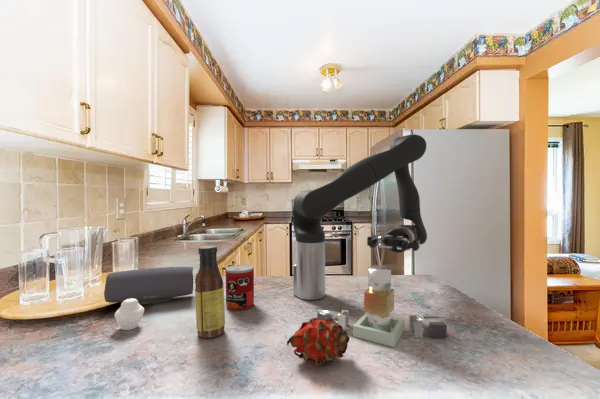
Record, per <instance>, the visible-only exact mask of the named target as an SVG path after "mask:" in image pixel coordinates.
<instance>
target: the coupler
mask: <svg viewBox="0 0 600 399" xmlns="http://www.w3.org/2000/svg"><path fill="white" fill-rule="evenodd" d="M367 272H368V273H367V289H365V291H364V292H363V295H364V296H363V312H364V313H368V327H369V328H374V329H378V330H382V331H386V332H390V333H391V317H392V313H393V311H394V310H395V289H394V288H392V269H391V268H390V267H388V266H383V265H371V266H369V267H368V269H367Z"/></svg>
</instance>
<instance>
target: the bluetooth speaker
mask: <svg viewBox="0 0 600 399" xmlns="http://www.w3.org/2000/svg"><path fill="white" fill-rule="evenodd" d="M193 271H194V266H169V267H168V266H166V267H165V266H164V267H150V268H142V269H140V268H138V269H130V270H120V271H113V272H110V273H109V272H108V273H107V275H106V278H105V284H104V290H103V296H104V302H106V303H107V302H109V304H110V303H111V304H115V303H116V304H117V303H120V304H121V303H122V302H123V301H124V300H127V299H129V298H130V299H131V298H134V299H137V300H138V303H139V304H140V305H147V304H156V303H157V304H159V303H165V302H170V301H172V300H173V298H177V297H178V298H179V297H185V296H188V295H192V294H194V273H193Z"/></svg>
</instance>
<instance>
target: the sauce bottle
mask: <svg viewBox="0 0 600 399" xmlns="http://www.w3.org/2000/svg"><path fill="white" fill-rule="evenodd" d="M217 254H218V247H217V246H216V245H202V246H199V247H198V255H199V269H198V272H197V274H196V276H195V279H194V282H195V287H194V288H195V290H194V293H195V298H194V299H195V317H196V318H195V321H196V330H197V332H196V333H197V336H198V337H200V338H202V339H212V338H216V337H220V336H221V335H222V334H224V332H225V327H226V326H225V324H226V314H225V313H226V311H225V293H224V290H225V289H224V287H225V286H224V280H223V276H222V274H221V272H220V267H219V265H218V262H217V260H218V259H217V258H218V256H217Z"/></svg>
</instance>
